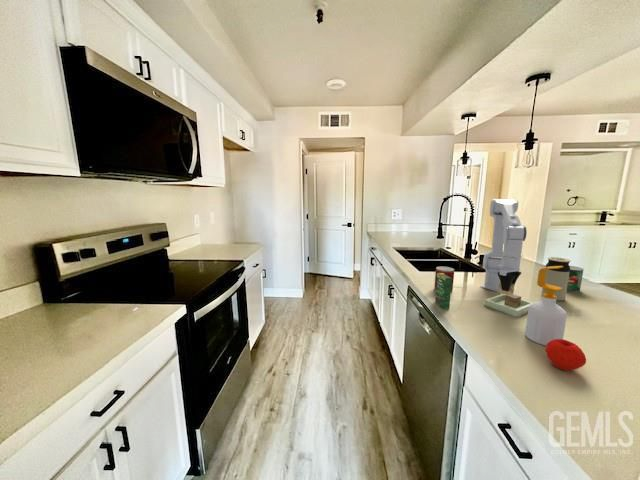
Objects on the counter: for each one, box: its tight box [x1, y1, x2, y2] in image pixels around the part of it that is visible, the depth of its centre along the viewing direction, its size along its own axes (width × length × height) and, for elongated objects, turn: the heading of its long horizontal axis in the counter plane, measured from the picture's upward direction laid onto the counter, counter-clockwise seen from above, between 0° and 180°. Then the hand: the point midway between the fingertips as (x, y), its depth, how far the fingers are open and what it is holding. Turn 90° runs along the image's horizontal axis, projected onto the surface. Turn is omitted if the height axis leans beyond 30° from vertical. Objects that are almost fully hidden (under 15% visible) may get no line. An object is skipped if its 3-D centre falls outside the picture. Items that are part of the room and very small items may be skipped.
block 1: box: [497, 283, 516, 296], centre depth 105 cm, size 4×4×4 cm
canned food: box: [434, 265, 455, 293], centre depth 126 cm, size 8×8×11 cm
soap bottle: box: [524, 266, 568, 346], centre depth 82 cm, size 9×9×25 cm
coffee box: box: [434, 273, 452, 310], centre depth 109 cm, size 8×3×13 cm, turn 0°
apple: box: [544, 338, 587, 372], centre depth 70 cm, size 8×8×7 cm
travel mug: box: [541, 256, 572, 302], centre depth 116 cm, size 8×8×18 cm
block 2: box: [504, 293, 522, 308], centre depth 108 cm, size 4×4×4 cm
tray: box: [483, 293, 533, 318], centre depth 107 cm, size 14×12×3 cm
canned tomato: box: [566, 265, 584, 293], centre depth 127 cm, size 8×8×11 cm
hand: (507, 289), depth 104 cm, fingers closed on block 1, 4 cm apart
